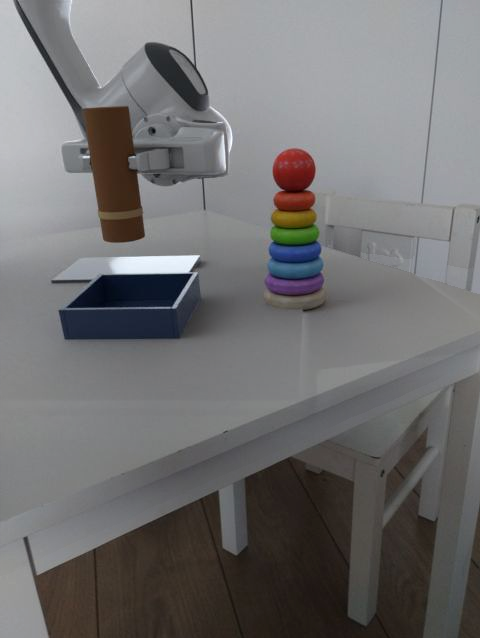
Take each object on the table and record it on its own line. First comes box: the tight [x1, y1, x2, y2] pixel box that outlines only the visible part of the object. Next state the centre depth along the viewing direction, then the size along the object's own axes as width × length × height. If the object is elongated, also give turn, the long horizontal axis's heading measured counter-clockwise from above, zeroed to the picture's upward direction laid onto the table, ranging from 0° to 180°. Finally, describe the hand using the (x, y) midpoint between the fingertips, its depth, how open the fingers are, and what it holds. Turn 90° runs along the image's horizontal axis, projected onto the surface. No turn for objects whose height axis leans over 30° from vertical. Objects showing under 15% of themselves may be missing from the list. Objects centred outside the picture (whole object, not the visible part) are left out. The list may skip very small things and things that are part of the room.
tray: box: [58, 271, 202, 341], centre depth 69 cm, size 13×13×4 cm
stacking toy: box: [263, 147, 327, 311], centre depth 69 cm, size 8×8×19 cm
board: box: [50, 254, 202, 284], centre depth 88 cm, size 20×12×1 cm, turn 85°
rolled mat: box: [82, 106, 146, 244], centre depth 63 cm, size 5×5×14 cm
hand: (109, 163), depth 62 cm, fingers closed on rolled mat, 5 cm apart
